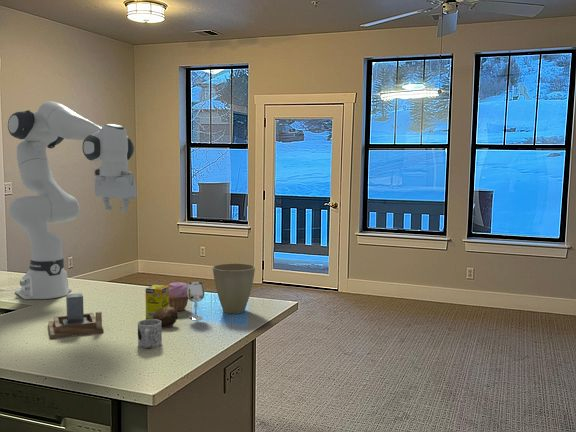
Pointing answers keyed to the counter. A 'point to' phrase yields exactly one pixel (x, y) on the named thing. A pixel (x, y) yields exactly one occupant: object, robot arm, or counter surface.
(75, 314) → the grey block on base
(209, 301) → the counter surface
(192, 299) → the wineglass
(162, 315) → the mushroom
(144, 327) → the mug
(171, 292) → the cupcake
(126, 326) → the counter surface
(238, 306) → the plant pot
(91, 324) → the brown wooden square tray
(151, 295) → the supplement box
